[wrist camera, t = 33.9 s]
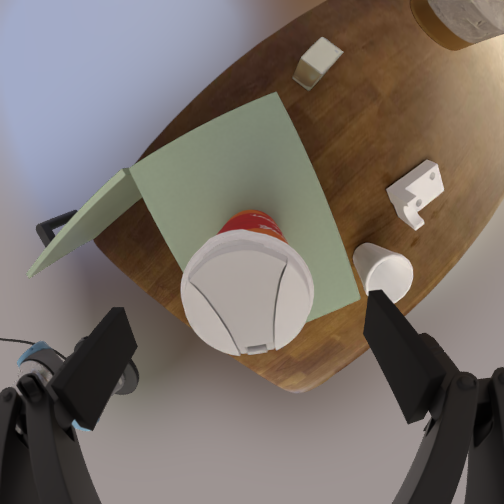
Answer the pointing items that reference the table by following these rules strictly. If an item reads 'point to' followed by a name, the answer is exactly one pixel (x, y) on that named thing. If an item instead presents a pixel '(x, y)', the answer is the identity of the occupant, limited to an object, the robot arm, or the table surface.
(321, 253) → the cupboard
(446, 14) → the vase
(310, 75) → the cosmetic box
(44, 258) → the cupboard door
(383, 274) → the cup
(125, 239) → the table surface
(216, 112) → the table surface
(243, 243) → the coffee cup
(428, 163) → the bracket
